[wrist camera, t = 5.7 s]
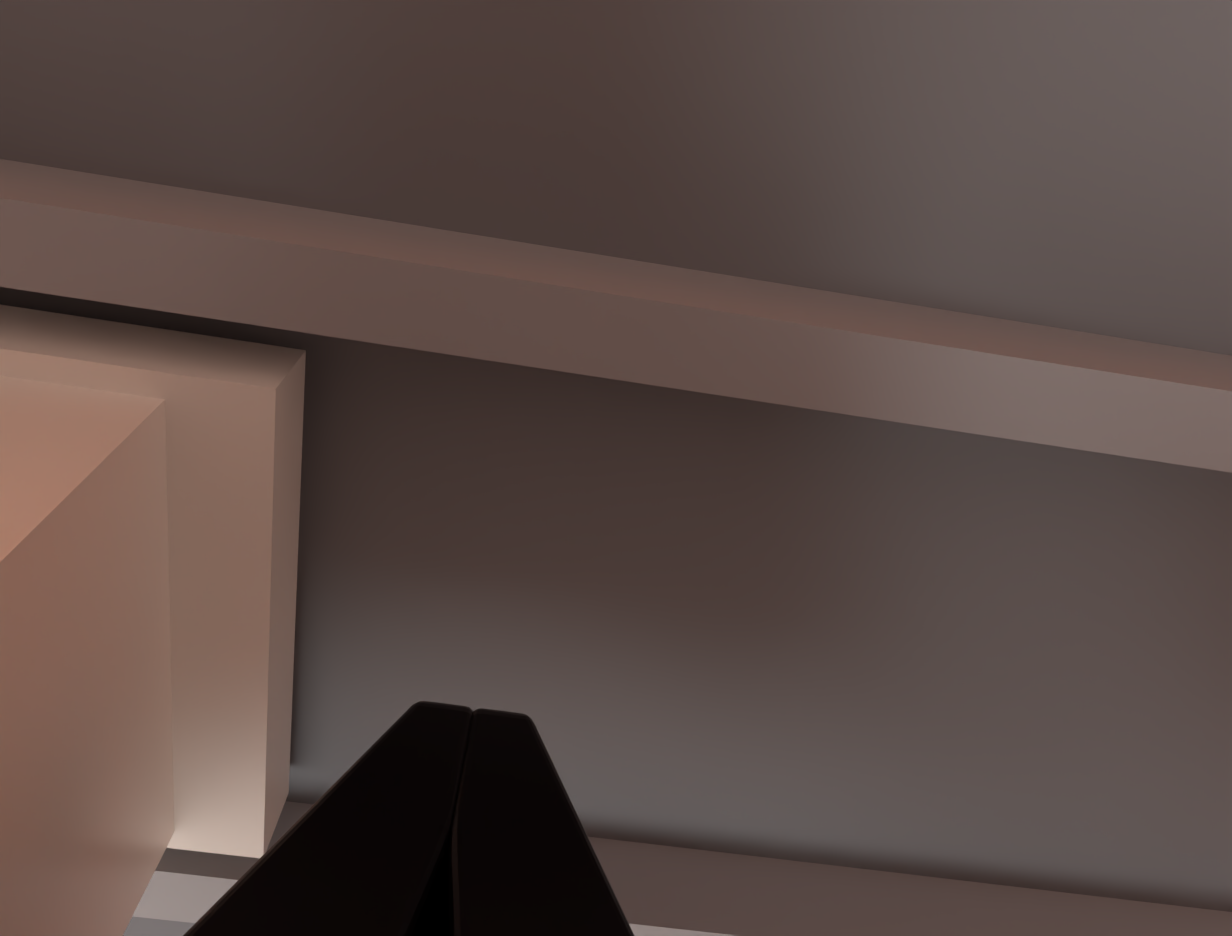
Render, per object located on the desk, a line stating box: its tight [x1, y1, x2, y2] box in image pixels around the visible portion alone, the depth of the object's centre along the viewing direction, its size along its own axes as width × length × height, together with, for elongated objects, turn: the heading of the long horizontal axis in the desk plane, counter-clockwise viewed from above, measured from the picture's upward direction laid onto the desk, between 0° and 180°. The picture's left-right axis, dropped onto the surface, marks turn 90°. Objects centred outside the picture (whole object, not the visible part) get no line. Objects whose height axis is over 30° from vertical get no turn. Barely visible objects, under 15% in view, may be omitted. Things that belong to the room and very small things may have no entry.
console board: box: [0, 0, 1232, 936], centre depth 9 cm, size 24×12×4 cm, turn 81°
